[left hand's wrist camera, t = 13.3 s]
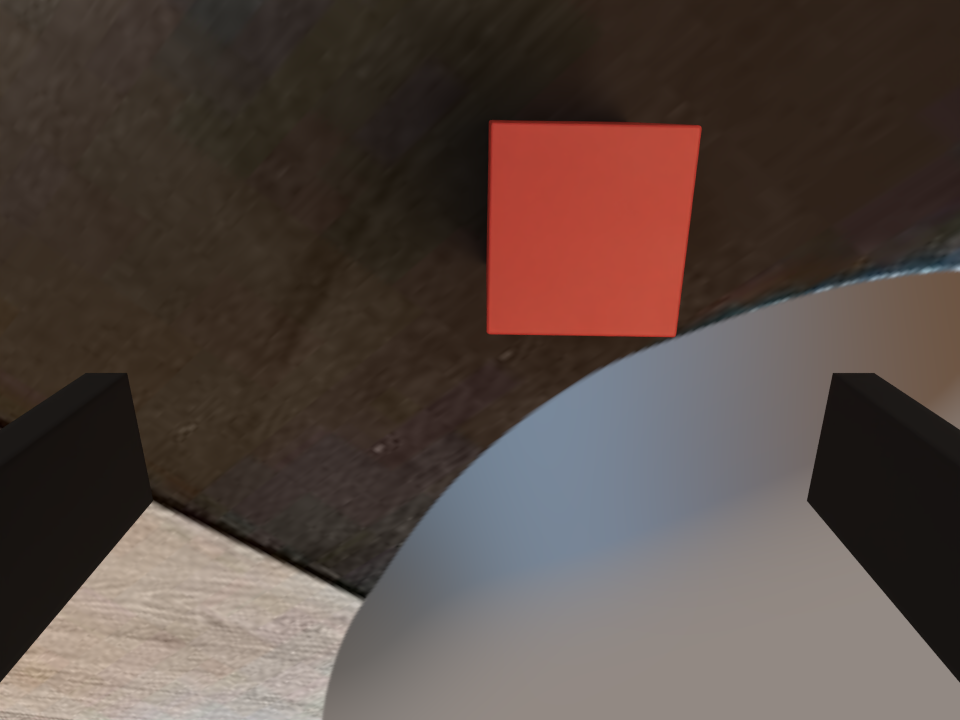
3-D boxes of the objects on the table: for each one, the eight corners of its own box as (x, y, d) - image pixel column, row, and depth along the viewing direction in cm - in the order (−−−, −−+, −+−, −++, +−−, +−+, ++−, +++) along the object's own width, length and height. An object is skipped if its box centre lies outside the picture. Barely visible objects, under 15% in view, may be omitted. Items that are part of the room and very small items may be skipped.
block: (628, 122, 31) (703, 125, 20) (616, 267, 33) (676, 337, 23) (489, 120, 31) (490, 122, 20) (486, 265, 33) (486, 334, 23)
